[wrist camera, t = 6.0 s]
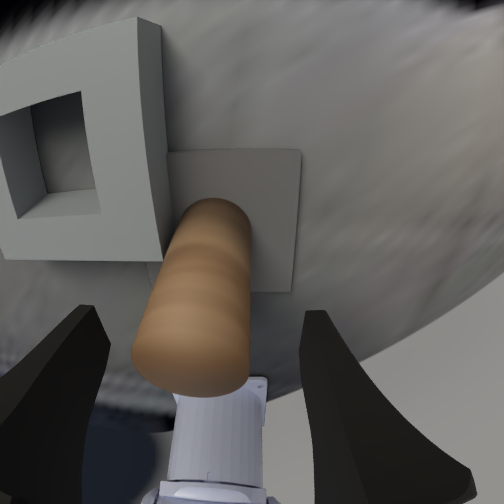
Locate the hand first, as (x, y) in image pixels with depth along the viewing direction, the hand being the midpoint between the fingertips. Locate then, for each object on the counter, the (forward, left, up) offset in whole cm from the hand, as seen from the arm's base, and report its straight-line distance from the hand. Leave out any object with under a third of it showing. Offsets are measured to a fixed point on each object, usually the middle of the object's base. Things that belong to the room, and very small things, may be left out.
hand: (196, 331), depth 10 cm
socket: (+5, +7, -7) cm, 11 cm away
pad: (0, 0, -7) cm, 7 cm away
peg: (0, 0, -6) cm, 6 cm away
